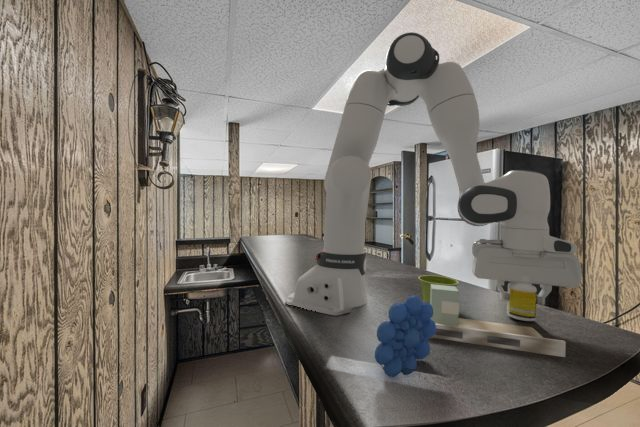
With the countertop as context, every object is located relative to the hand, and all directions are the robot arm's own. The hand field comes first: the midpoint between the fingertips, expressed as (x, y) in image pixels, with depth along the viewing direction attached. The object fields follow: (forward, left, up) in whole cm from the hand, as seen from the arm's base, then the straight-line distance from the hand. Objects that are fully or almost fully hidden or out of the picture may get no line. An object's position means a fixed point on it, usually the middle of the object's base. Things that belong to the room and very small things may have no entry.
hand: (521, 301), depth 63 cm
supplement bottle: (0, 0, -4) cm, 4 cm away
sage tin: (-18, -11, -4) cm, 21 cm away
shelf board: (-11, -11, -6) cm, 16 cm away
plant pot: (-18, +1, -6) cm, 19 cm away
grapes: (-26, -29, -6) cm, 39 cm away
